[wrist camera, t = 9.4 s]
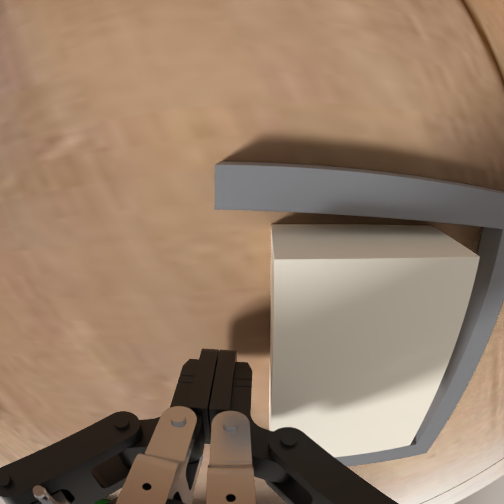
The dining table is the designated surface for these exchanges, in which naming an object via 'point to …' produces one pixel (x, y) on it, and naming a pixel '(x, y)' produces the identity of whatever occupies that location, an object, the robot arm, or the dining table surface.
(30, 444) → the dining table surface
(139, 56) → the dining table surface
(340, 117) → the dining table surface
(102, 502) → the milk carton
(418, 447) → the u-shaped bracket
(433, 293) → the carton
